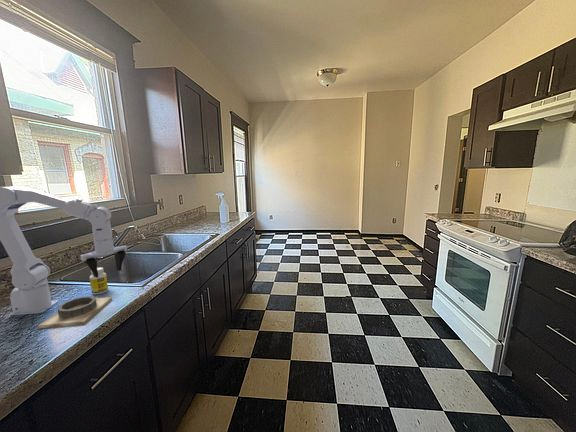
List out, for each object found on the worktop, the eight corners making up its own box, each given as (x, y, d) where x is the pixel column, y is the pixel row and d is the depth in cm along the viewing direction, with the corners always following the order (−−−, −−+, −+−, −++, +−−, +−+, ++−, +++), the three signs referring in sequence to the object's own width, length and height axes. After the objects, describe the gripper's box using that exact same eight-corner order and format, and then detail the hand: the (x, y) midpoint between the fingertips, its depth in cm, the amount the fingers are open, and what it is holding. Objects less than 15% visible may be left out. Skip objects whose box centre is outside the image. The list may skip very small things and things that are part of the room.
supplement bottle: (99, 295, 98) (95, 272, 96) (88, 294, 99) (84, 271, 97) (111, 289, 103) (108, 267, 101) (100, 288, 104) (97, 266, 103)
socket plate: (38, 328, 77) (36, 318, 76) (74, 302, 93) (72, 293, 92) (84, 324, 79) (82, 314, 78) (112, 299, 94) (110, 291, 94)
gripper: (83, 245, 85) (89, 282, 87) (129, 236, 96) (133, 269, 99) (76, 242, 88) (81, 278, 91) (121, 234, 100) (124, 266, 103)
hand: (107, 273), depth 95 cm, fingers open, 7 cm apart
